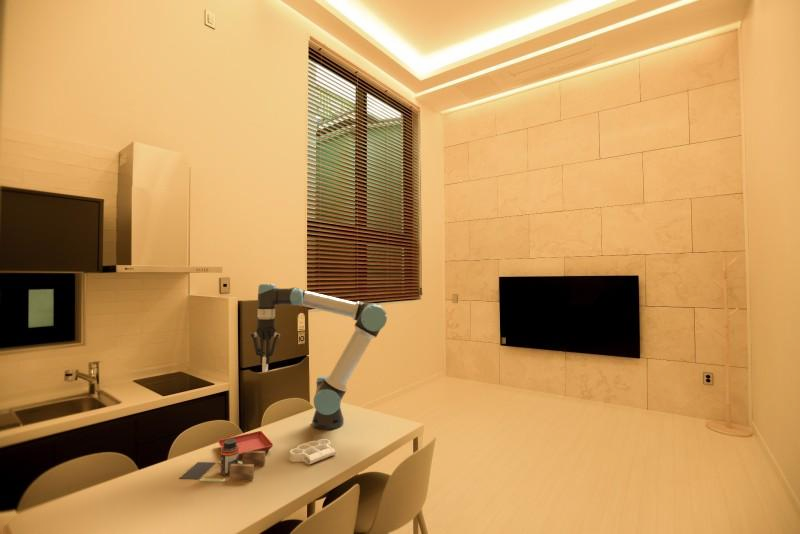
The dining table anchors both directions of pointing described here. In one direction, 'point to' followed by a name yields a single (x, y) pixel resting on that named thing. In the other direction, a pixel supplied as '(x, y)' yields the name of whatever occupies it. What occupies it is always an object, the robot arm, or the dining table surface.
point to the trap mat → (197, 470)
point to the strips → (215, 479)
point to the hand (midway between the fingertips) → (264, 371)
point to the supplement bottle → (229, 456)
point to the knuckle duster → (312, 451)
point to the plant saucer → (250, 442)
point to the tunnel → (247, 466)
